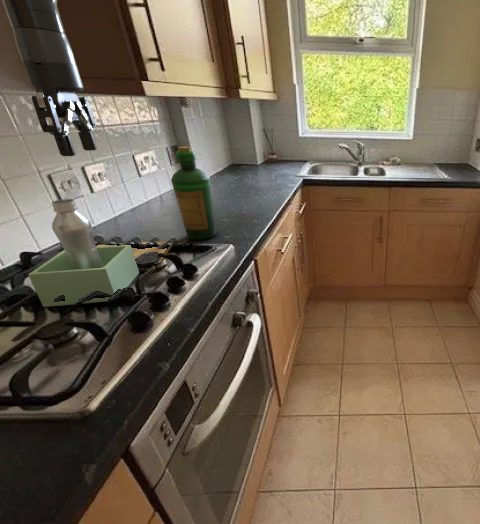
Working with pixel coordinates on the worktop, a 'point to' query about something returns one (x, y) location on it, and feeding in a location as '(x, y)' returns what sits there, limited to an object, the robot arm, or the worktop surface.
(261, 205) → the worktop surface
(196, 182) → the bottle
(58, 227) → the plastic bottle
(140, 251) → the board
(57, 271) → the bin
